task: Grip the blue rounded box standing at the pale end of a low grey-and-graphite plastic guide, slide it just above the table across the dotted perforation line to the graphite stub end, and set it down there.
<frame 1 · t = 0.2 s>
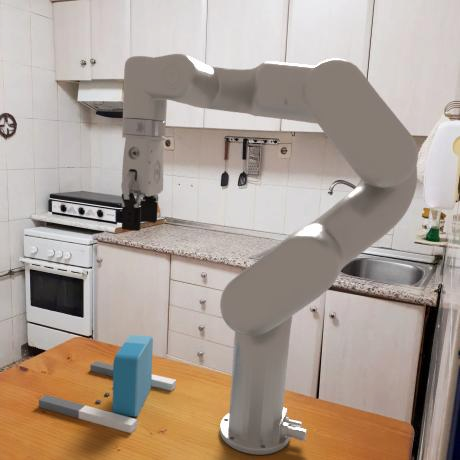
hand: (140, 225, 85), 35 cm above the table, tool pointing down, fingers open, 9 cm apart
blue rounded box: (133, 403, 91), on the table
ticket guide: (111, 396, 93), on the table
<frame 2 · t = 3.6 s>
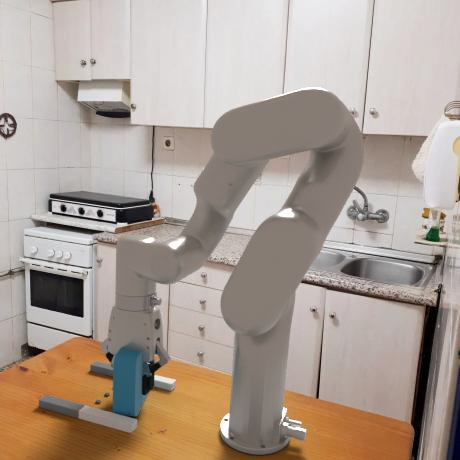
hand: (133, 387, 90), 3 cm above the table, tool pointing down, fingers closed on blue rounded box, 5 cm apart
blue rounded box: (133, 402, 91), on the table, touching gripper
when the fingers open (4 cm above the table, at t = 7.8 s): blue rounded box stays where it is, on the table.
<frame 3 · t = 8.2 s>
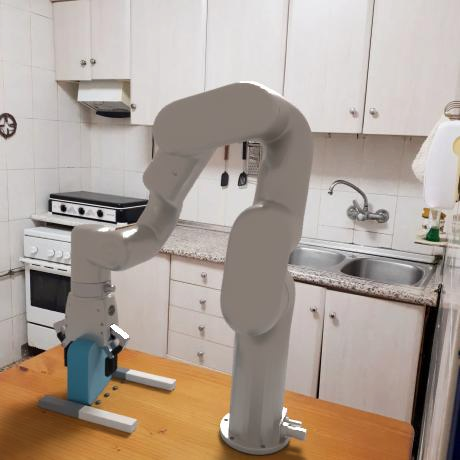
hand: (90, 368, 93), 5 cm above the table, tool pointing down, fingers open, 9 cm apart
blue rounded box: (90, 392, 94), on the table
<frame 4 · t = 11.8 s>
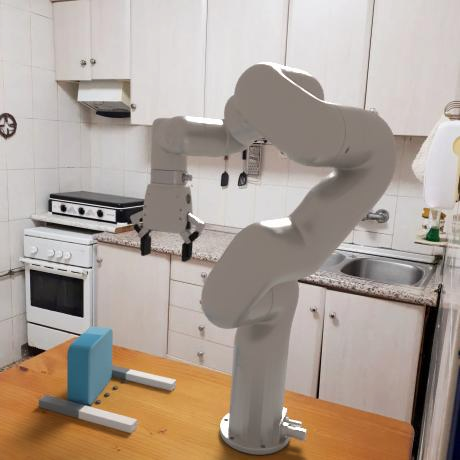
hand: (165, 257, 100), 26 cm above the table, tool pointing down, fingers open, 9 cm apart
nothing on the table moved.
at the end: blue rounded box inside the target area (0.7 cm from its centre), on the table; blue rounded box tilted 0°; the gripper is holding nothing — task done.
